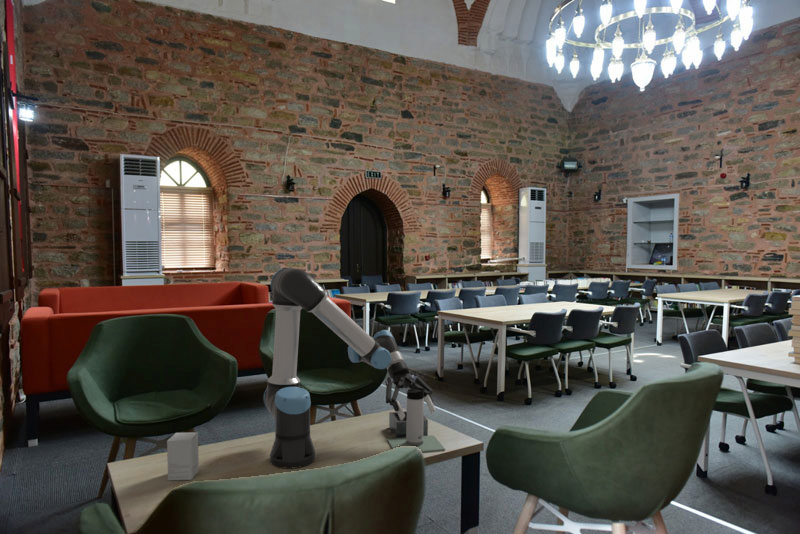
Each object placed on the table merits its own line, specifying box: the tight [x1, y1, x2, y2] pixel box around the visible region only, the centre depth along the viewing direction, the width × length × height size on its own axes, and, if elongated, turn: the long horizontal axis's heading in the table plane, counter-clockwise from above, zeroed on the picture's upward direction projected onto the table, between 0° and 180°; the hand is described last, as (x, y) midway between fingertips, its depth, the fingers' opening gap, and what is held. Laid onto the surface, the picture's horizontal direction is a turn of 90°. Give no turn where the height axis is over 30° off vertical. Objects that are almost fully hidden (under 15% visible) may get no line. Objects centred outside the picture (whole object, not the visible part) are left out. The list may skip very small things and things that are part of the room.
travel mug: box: [405, 388, 425, 445], centre depth 192 cm, size 6×7×20 cm
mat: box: [387, 434, 446, 453], centre depth 191 cm, size 18×14×1 cm
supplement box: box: [166, 431, 200, 481], centre depth 165 cm, size 7×7×13 cm
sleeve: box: [388, 410, 429, 438], centre depth 206 cm, size 12×12×6 cm
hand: (418, 415), depth 190 cm, fingers open, 13 cm apart
